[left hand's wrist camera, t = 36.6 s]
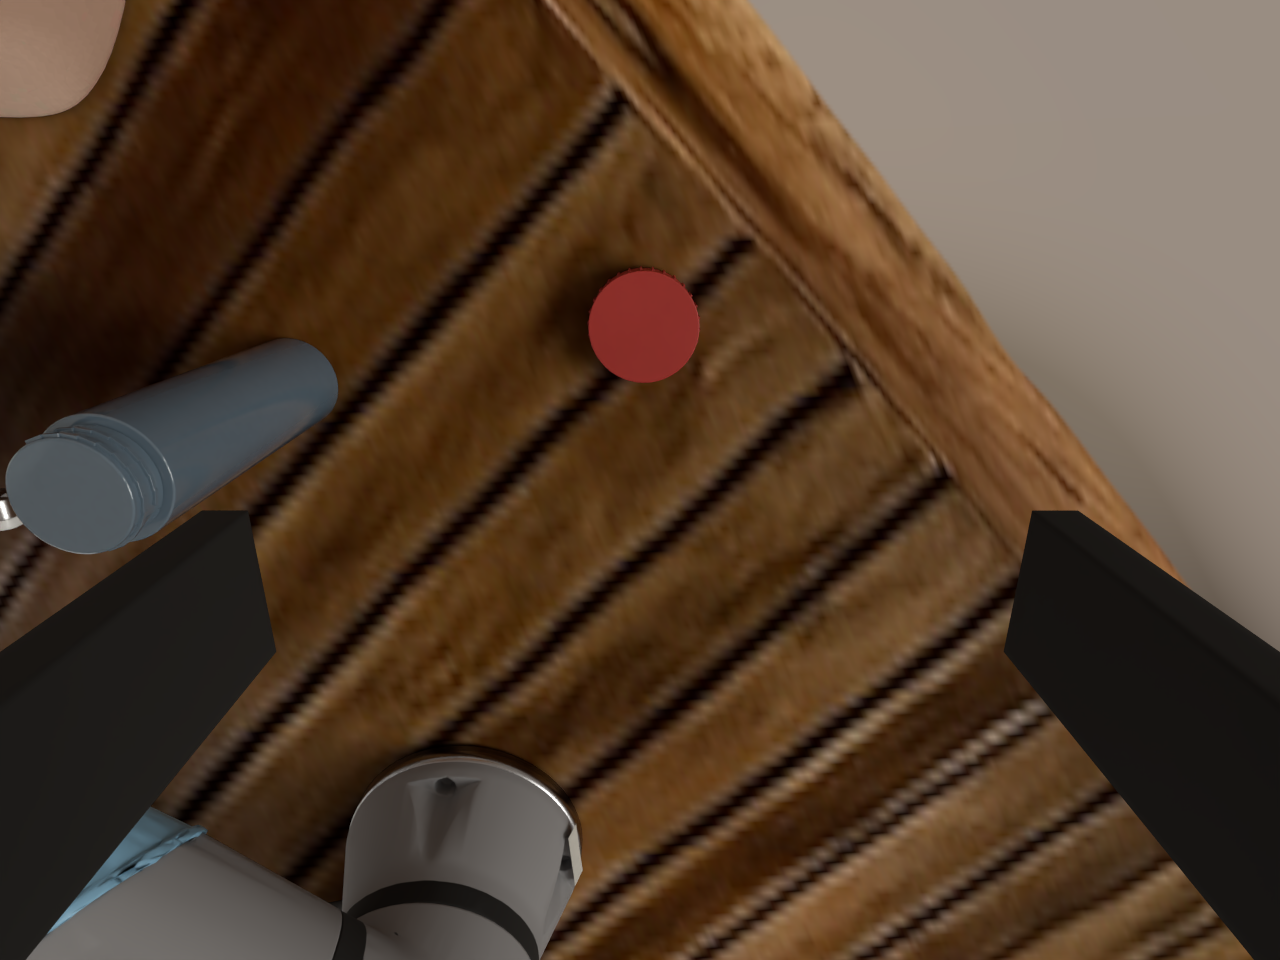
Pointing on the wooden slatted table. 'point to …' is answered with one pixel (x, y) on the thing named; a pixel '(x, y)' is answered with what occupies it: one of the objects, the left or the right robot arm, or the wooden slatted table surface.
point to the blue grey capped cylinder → (165, 446)
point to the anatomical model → (53, 52)
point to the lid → (643, 325)
